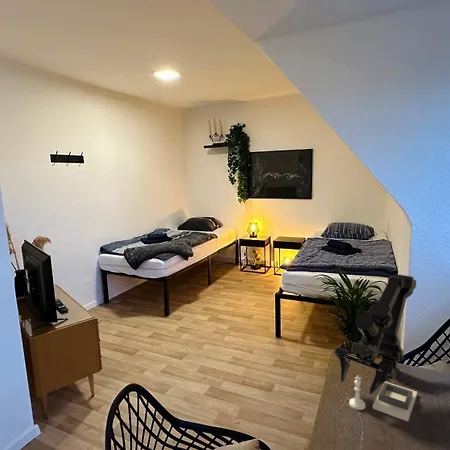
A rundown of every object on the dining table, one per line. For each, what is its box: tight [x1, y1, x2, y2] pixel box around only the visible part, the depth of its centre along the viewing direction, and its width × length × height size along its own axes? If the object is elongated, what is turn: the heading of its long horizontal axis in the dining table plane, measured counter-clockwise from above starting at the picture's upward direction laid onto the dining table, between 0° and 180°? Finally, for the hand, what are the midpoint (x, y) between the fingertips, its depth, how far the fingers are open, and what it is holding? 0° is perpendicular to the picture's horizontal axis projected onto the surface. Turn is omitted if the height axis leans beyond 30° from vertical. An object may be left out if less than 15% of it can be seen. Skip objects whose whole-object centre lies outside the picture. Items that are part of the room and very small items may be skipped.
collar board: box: [372, 381, 418, 422], centre depth 107 cm, size 16×10×3 cm, turn 141°
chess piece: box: [348, 375, 366, 411], centre depth 106 cm, size 5×5×10 cm
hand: (355, 387), depth 105 cm, fingers open, 9 cm apart
